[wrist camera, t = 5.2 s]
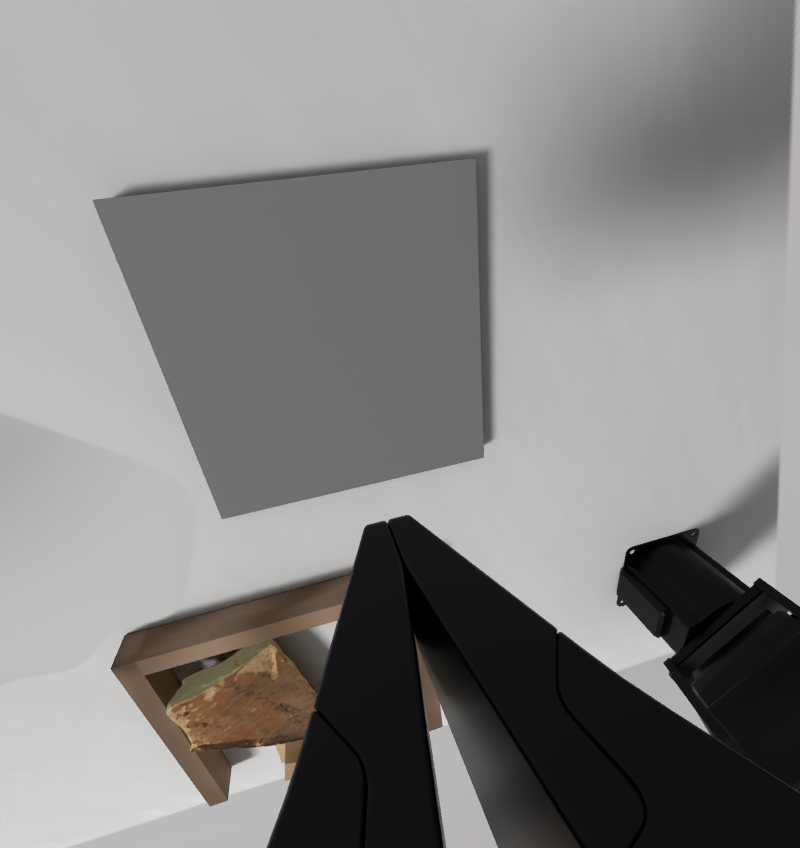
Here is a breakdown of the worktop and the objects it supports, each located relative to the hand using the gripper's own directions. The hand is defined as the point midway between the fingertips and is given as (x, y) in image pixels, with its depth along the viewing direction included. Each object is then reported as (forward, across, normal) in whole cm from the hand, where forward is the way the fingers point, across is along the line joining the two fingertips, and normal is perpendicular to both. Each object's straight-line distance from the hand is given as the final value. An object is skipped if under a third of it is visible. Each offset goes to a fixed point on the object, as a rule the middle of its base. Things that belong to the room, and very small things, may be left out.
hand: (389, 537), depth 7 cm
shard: (+14, +4, +22) cm, 27 cm away
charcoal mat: (+13, 0, 0) cm, 13 cm away
